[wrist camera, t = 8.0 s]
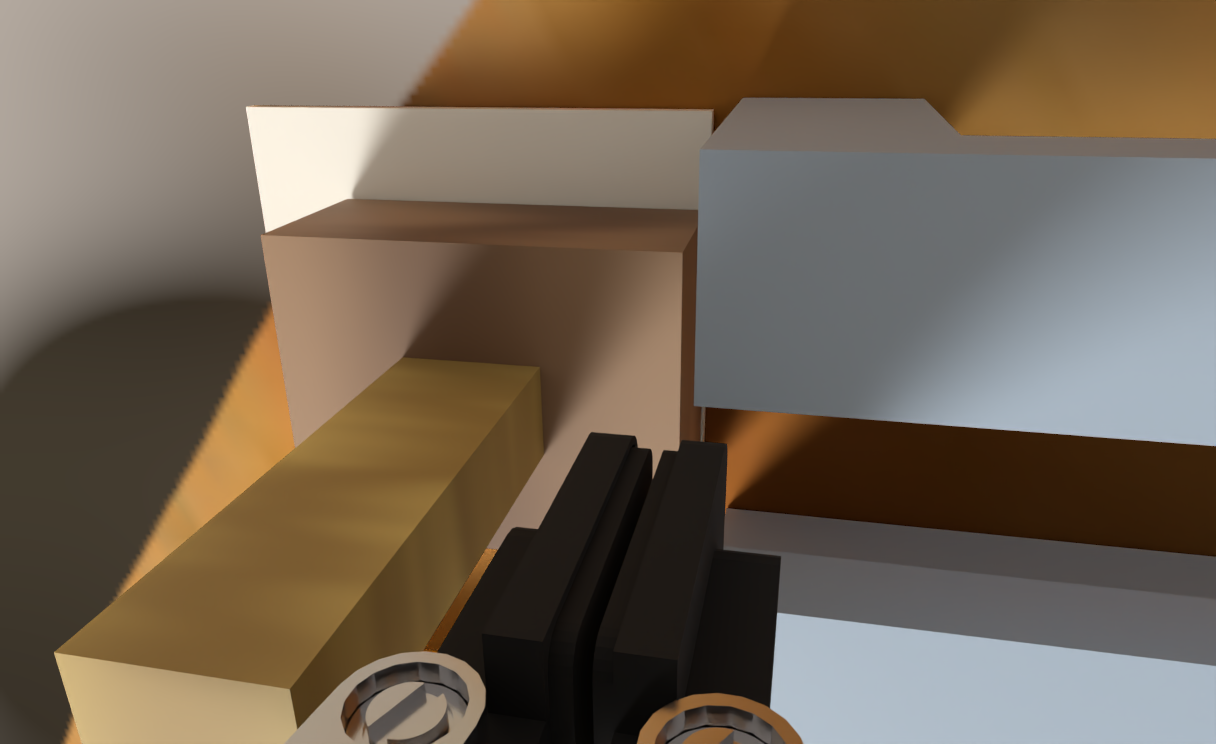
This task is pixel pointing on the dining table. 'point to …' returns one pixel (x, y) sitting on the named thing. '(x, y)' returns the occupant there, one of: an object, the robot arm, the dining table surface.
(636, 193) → the tile
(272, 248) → the tan boxy piece
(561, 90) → the dining table surface
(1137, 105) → the dining table surface
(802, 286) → the tunnel
